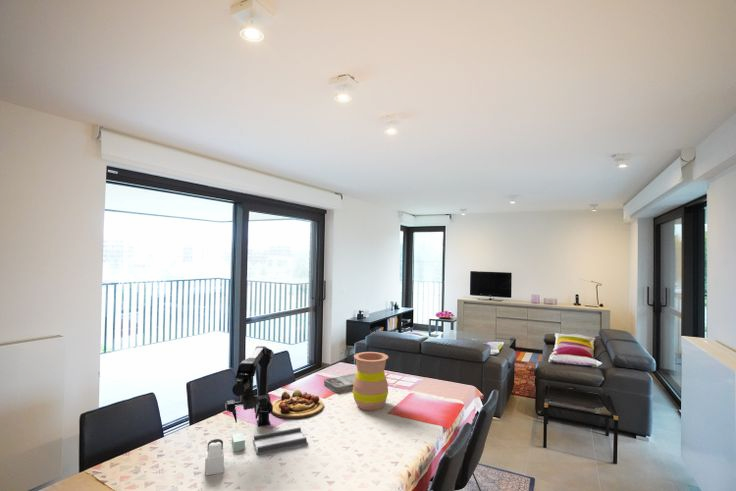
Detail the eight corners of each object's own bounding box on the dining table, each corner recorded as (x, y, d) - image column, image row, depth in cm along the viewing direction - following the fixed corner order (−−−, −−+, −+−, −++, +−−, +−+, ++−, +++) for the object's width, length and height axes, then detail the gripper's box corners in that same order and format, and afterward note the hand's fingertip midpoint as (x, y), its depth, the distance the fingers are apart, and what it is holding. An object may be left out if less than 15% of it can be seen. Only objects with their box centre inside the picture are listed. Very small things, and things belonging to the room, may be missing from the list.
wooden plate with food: (294, 425, 199) (295, 410, 199) (258, 409, 218) (259, 395, 218) (334, 407, 224) (334, 394, 224) (298, 394, 243) (299, 381, 244)
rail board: (252, 441, 180) (253, 435, 180) (300, 432, 190) (301, 426, 190) (256, 455, 168) (256, 448, 168) (307, 444, 178) (307, 438, 178)
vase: (388, 399, 236) (389, 352, 237) (387, 414, 214) (387, 362, 215) (354, 397, 238) (355, 351, 239) (349, 411, 216) (350, 360, 217)
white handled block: (206, 466, 158) (206, 438, 159) (223, 463, 161) (224, 436, 161) (204, 476, 152) (205, 446, 152) (223, 472, 154) (224, 444, 155)
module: (231, 443, 178) (231, 434, 178) (242, 441, 180) (242, 432, 180) (233, 452, 171) (233, 442, 171) (244, 449, 173) (244, 440, 173)
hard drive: (369, 386, 259) (369, 380, 259) (335, 394, 244) (335, 387, 244) (356, 379, 274) (356, 373, 274) (323, 385, 259) (323, 379, 259)
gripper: (228, 397, 164) (227, 432, 164) (270, 390, 173) (269, 424, 173) (225, 388, 174) (224, 421, 174) (265, 383, 183) (264, 414, 182)
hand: (246, 420), depth 176 cm, fingers open, 9 cm apart
